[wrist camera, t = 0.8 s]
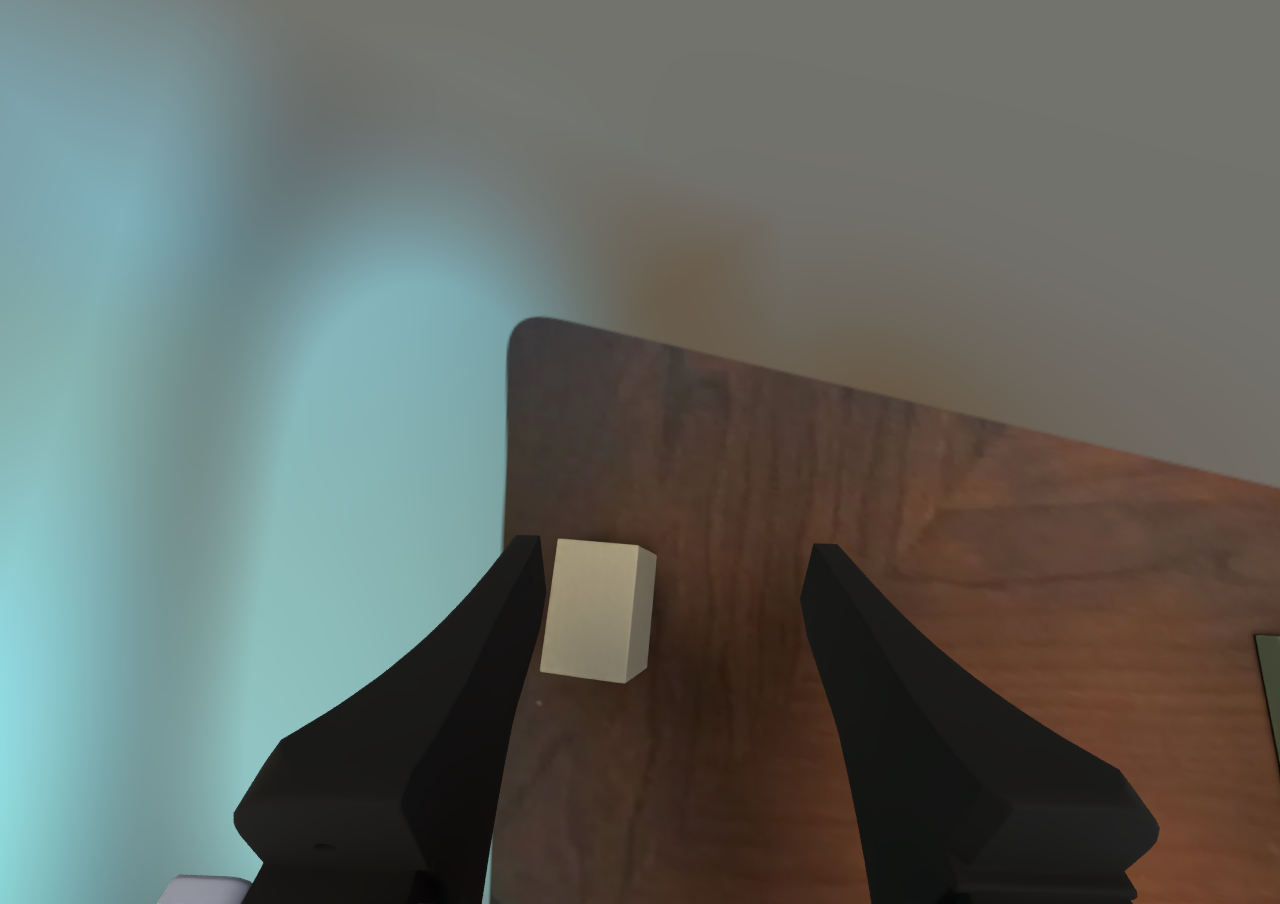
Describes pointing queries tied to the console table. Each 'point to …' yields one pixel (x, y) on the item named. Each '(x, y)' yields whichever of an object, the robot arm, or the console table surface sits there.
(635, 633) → the ivory block
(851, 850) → the console table surface
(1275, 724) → the stand
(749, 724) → the console table surface
